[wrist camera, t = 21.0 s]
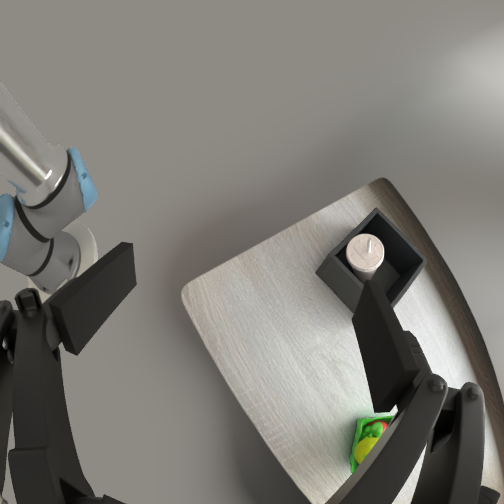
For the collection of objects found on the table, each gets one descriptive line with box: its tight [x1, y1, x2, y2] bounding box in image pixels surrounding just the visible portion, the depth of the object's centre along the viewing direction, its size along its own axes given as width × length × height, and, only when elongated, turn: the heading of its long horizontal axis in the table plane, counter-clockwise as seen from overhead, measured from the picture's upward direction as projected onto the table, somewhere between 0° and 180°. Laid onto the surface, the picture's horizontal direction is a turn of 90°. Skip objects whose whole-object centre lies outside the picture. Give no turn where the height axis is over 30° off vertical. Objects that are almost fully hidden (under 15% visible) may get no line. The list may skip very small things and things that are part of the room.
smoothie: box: [346, 234, 384, 282], centre depth 43 cm, size 6×6×14 cm
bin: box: [316, 207, 427, 313], centre depth 46 cm, size 14×14×10 cm
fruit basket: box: [350, 416, 393, 473], centre depth 34 cm, size 11×9×11 cm
